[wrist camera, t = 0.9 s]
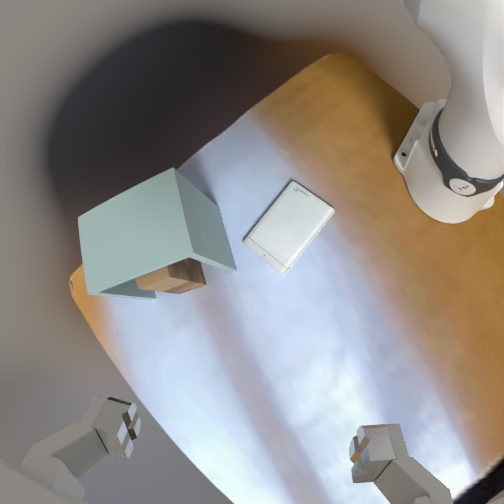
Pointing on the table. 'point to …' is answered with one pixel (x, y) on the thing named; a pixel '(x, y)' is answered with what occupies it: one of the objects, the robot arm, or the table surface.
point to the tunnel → (150, 235)
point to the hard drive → (288, 227)
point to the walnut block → (174, 277)
